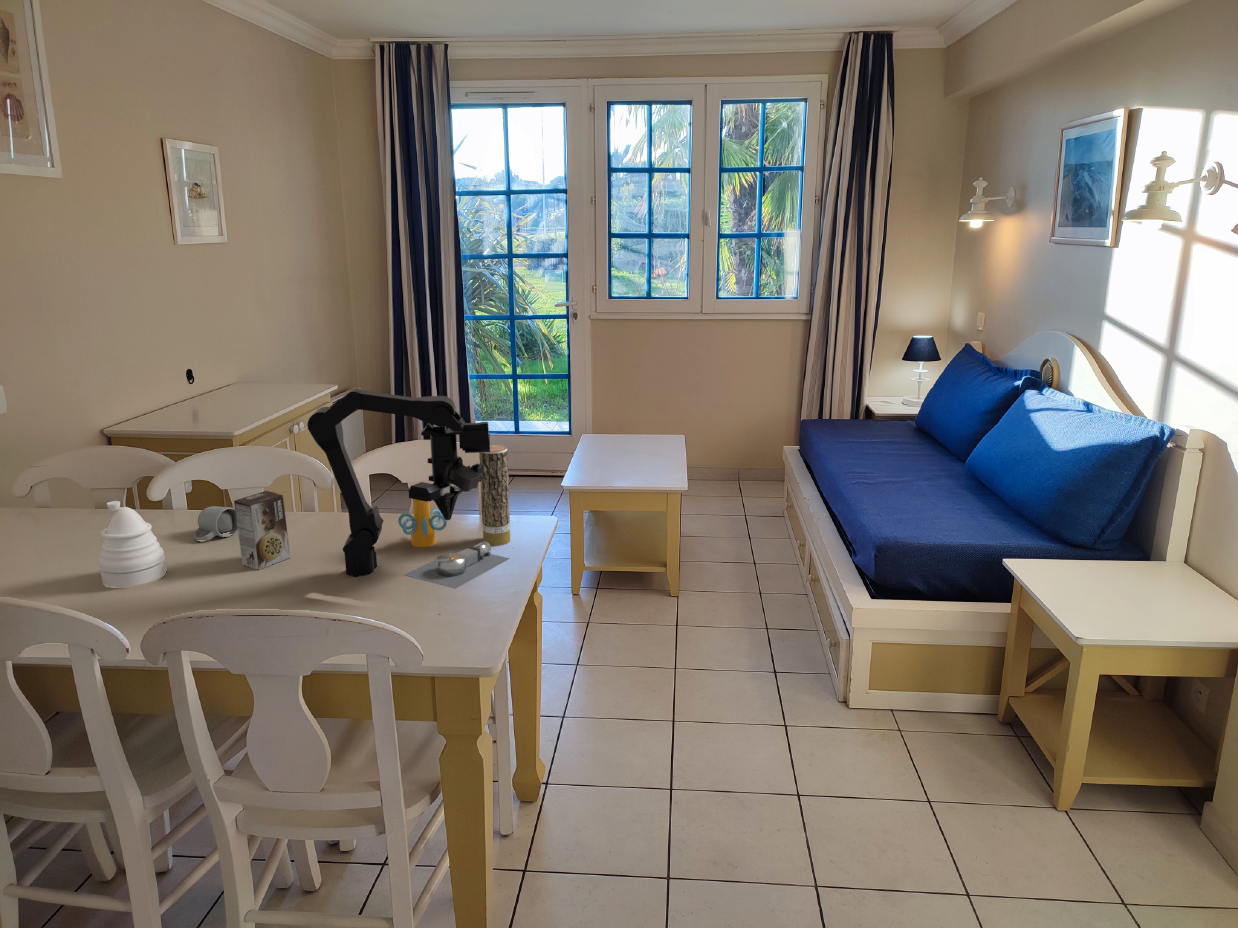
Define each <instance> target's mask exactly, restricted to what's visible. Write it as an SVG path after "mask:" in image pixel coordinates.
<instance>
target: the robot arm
mask: <svg viewBox="0 0 1238 928" xmlns="http://www.w3.org/2000/svg"><path fill="white" fill-rule="evenodd" d="M357 410H360V411H368V412H376V413H381V414H382V413H384V414H390V415H397V416H405V417H411V418H415V419H417V420H419V421H422V422H423V423H427V424H426V426H425V427H424V428H422V429H421V432H420V435H421V436H429V438H430V455H431V457H428V458H427V464H431V472H432V473H431V475H429V476H428V481H429V482H433V483H429V482H424V481H421V482H418V483H415V484H412V485H410V486H409V488H408V499H411V500H413V499H416V500H421V501H426V502H429V501H430V502H432V501H433V502H434V503H435V505H436V506H437V508H438V510H439V511H440V512H441V514H442V516H443V517H444V519H445V520H446V521H450V520H452V516H453V514H454V509H455V506H456V502H457V500H458V497H459V495H461V494H462V493H463V492H469V491H471V490H472V489H473V490H474V489H477V488H478V485H479V483H481V480H482V479H483V467H482V465H480V463H475V464H473V465H464V463H463V461H464V460H463V458H462V456H458V443H459V449H461V450H462V451H463V452H464V453H465V454H474V453H475V454H476V453H481V452H490V445H491V434H490V429H489V422H488V421H481V422H468V423H467V422H465V420H464V418H463V417H462V416H461V415H460V414H459V412H458V411H457V410H456V404H455V402H454V401H453V400H452V399H451V398H450V397H448V396H447V395H431V396H430V395H429V396H419V397H411V396H404V395H397V394H389V393H384V392H383V393H382V392H376V391H368V390H362V389H361V388H353V389H351V390H349V391H348V392H347V393H346V394H345V395H344V396H342V397H340V399H338V400H337V401H336V402H334V403H333V404H332V405H330V406H321V407H320V408H318V409H316V411H315V412H314V413H312V415H310V417H309V419H308V420H307V422H306V423H307V425H306V426H307V430H308V432H309V434H310V435H311V436H312V438H313V440H314V442H315V443H316V444H317V445H318V447H319V448H321V451H323V452H324V454H325V456H326V458H327V461H328V463H329V466H330V468H331V470H332V473H333V476H334V479H335V480H336V484H337V485H338V488H339V490H340V494H341V497H342V498H343V500H344V504H345V505H346V506H345V507H346V509H347V512H348V522H349V529H350V534H349V535H348V537H347V539H346V541H345V543H344V546H343V547H342V552H343V553H344V562H345V563H344V564H345V573H346V575H347V576H350V577H355V578H358V577H365V576H369V575H371V574H373V573H374V572H375V570H376V569H377V568H378V561H377V559H378V558H377V552H376V548H375V547H376V546H375V544H376V543H377V542H378V540H379V538H380V535H381V533H382V529H383V523H384V519H383V518H382V516H381V514H380V511H379V507H378V505H376V506H373V507H372V506H371V505H370V504H369V503H368V502H367V500H366V498H365V496H364V495H365V494H364V493H363V490H362V487H361V485H360V483H359V480H358V477H357V474H356V472H355V469H354V467H353V465H352V462H351V460H350V457H349V454H348V452H347V449H346V446H345V441H344V429H343V425H342V421H344V420H345V419H346V418H348V417H349V416H350V415H351V414H352V413H354V412H355V411H357ZM457 436H459V437H458V438H459V439H458V440H459V441H458V443H457Z"/></svg>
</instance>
